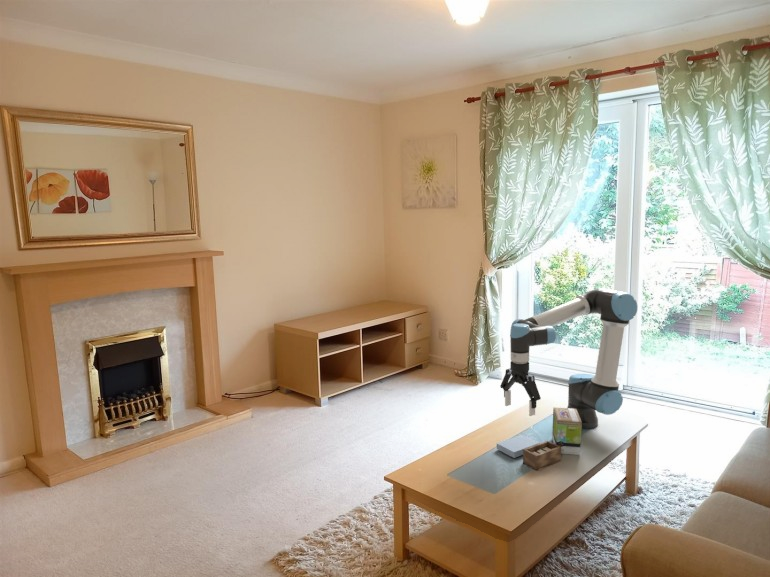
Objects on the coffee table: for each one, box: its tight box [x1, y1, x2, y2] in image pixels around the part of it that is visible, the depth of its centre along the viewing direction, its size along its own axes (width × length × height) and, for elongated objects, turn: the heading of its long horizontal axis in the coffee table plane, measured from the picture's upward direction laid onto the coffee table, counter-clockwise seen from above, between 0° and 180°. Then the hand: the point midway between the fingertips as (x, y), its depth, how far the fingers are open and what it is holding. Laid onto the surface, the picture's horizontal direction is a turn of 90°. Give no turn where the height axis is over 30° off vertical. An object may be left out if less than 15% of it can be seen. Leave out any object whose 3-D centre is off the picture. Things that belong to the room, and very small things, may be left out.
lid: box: [496, 434, 541, 459], centre depth 223 cm, size 15×10×3 cm, turn 121°
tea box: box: [551, 407, 583, 456], centre depth 224 cm, size 15×10×15 cm
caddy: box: [522, 440, 562, 471], centre depth 211 cm, size 14×7×6 cm, turn 122°
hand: (519, 410), depth 222 cm, fingers open, 13 cm apart
